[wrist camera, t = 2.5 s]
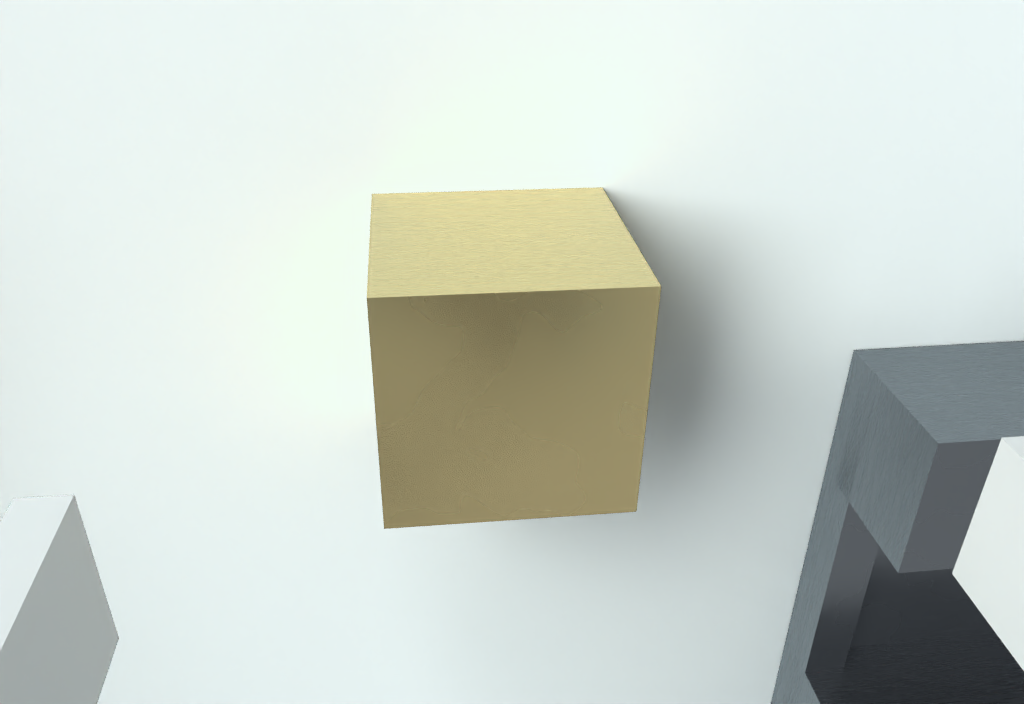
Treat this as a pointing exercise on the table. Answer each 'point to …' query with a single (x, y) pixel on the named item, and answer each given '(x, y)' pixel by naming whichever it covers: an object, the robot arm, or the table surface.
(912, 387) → the grey stepped block holder
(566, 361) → the sand colored cube
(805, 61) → the table surface
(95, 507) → the table surface
